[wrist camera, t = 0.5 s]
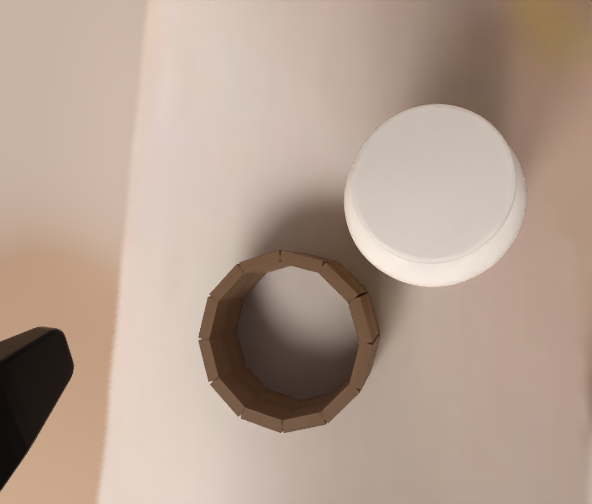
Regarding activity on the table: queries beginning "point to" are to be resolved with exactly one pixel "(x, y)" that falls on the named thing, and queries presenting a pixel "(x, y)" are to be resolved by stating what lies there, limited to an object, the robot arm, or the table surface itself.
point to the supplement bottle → (435, 196)
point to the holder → (237, 376)
